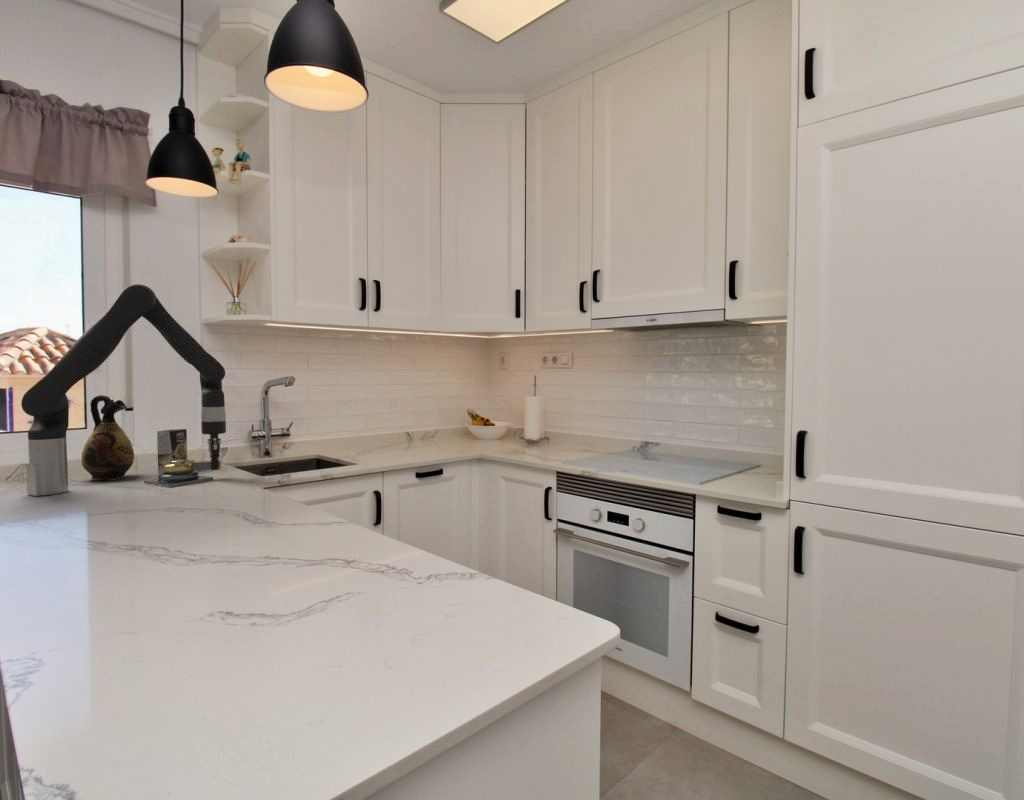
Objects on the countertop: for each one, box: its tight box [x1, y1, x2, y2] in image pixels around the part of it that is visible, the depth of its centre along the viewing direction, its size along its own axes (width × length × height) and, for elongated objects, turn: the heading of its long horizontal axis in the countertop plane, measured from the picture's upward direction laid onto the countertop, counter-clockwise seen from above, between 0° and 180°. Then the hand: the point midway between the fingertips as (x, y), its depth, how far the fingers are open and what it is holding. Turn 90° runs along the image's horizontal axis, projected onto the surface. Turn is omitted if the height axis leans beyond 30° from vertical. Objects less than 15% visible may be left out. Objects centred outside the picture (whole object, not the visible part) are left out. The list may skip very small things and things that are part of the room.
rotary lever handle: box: [162, 459, 222, 475], centre depth 196 cm, size 18×9×4 cm, turn 116°
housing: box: [143, 460, 214, 488], centre depth 194 cm, size 15×15×7 cm
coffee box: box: [156, 428, 188, 474], centre depth 216 cm, size 9×6×16 cm
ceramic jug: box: [81, 394, 135, 482], centre depth 201 cm, size 17×15×30 cm
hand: (214, 469), depth 196 cm, fingers closed
